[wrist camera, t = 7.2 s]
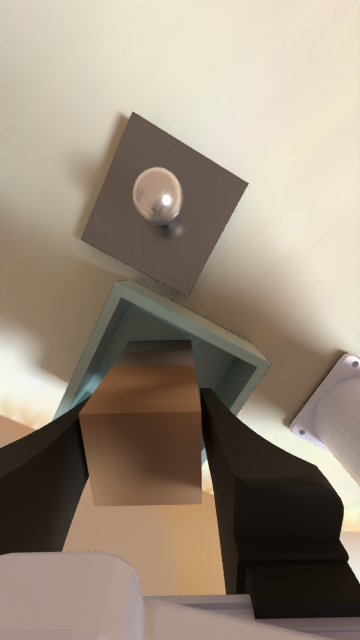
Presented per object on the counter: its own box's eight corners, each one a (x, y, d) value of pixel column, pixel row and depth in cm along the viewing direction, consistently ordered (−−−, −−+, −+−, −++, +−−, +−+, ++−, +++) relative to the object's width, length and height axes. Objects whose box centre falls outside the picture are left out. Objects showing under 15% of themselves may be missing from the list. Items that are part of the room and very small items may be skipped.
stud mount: (243, 189, 14) (277, 145, 9) (187, 295, 15) (189, 305, 11) (136, 123, 13) (110, 36, 8) (87, 241, 15) (42, 226, 10)
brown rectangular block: (190, 339, 15) (201, 411, 8) (191, 393, 17) (201, 504, 9) (129, 341, 15) (78, 413, 8) (134, 395, 17) (94, 506, 9)
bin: (249, 341, 16) (271, 363, 12) (187, 438, 18) (189, 483, 14) (132, 279, 15) (115, 281, 11) (80, 389, 17) (50, 424, 13)
